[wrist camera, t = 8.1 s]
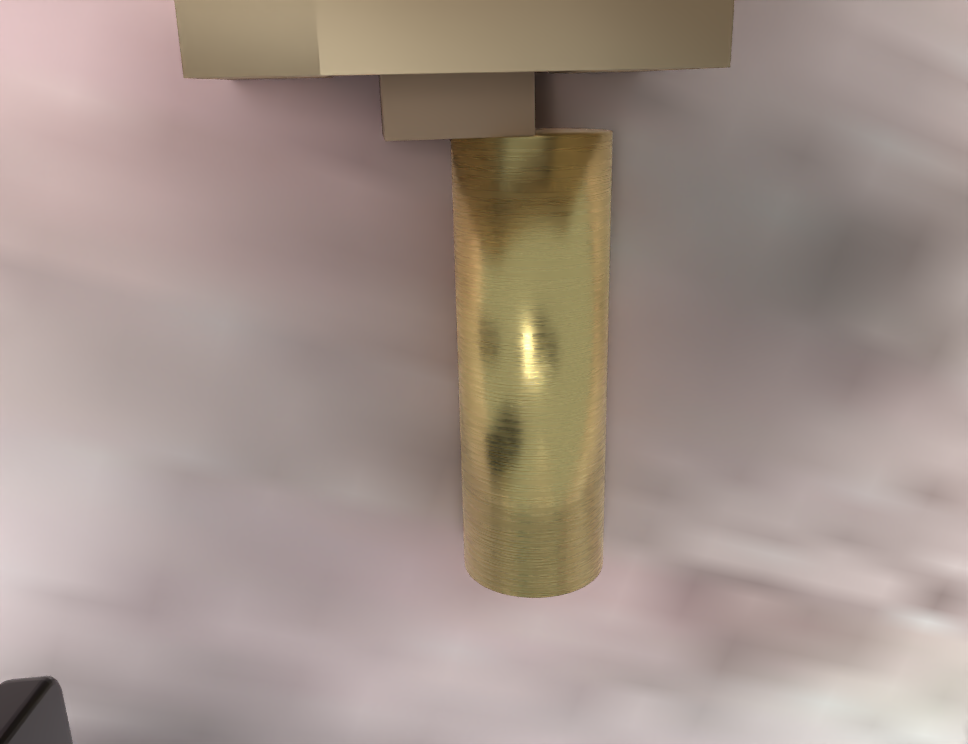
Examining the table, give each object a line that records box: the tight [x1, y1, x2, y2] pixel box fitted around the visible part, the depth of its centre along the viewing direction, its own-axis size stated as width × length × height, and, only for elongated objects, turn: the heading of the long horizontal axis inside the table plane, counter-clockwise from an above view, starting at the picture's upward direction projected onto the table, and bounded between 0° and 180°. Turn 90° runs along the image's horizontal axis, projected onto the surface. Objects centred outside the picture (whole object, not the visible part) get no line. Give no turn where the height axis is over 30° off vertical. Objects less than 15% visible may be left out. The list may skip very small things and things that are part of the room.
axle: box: [451, 128, 613, 598], centre depth 18 cm, size 9×3×3 cm
